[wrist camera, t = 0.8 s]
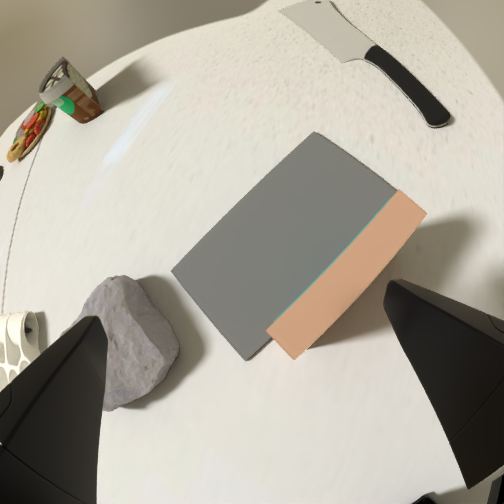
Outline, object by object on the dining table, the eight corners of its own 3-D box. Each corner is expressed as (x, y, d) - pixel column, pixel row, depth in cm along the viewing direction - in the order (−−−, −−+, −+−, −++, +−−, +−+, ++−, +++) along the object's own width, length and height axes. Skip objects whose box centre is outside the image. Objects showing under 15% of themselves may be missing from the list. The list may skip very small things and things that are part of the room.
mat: (402, 198, 21) (403, 196, 21) (246, 360, 21) (245, 361, 21) (314, 133, 25) (314, 131, 24) (172, 271, 25) (170, 271, 24)
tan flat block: (397, 253, 20) (427, 213, 13) (307, 349, 20) (293, 360, 13) (377, 235, 21) (396, 187, 14) (287, 328, 21) (263, 328, 14)
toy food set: (12, 172, 43) (2, 166, 40) (23, 132, 47) (14, 125, 44) (48, 137, 41) (37, 128, 38) (58, 98, 45) (49, 91, 42)
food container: (70, 110, 40) (37, 81, 31) (94, 87, 40) (62, 55, 30) (77, 142, 36) (34, 108, 26) (105, 115, 35) (65, 76, 26)
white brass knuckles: (52, 311, 29) (65, 426, 24) (0, 317, 33) (8, 403, 28) (32, 307, 26) (45, 429, 21) (-15, 314, 29) (-8, 403, 25)
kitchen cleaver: (265, 11, 33) (320, -8, 30) (269, 18, 34) (322, -1, 32) (386, 143, 22) (463, 112, 20) (386, 153, 24) (460, 121, 21)
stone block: (201, 349, 24) (133, 268, 26) (180, 363, 20) (103, 265, 21) (129, 412, 25) (74, 340, 27) (104, 430, 20) (45, 346, 22)
